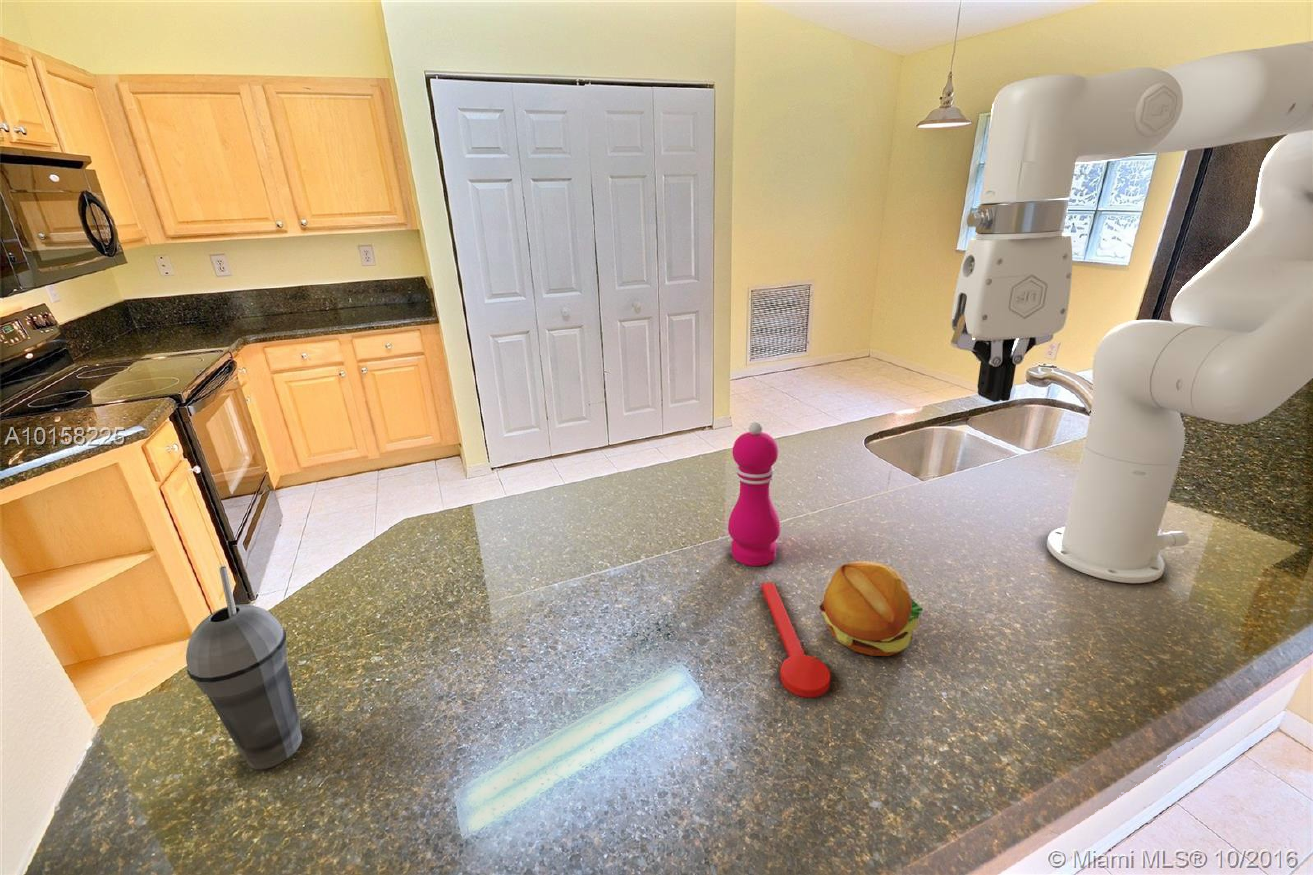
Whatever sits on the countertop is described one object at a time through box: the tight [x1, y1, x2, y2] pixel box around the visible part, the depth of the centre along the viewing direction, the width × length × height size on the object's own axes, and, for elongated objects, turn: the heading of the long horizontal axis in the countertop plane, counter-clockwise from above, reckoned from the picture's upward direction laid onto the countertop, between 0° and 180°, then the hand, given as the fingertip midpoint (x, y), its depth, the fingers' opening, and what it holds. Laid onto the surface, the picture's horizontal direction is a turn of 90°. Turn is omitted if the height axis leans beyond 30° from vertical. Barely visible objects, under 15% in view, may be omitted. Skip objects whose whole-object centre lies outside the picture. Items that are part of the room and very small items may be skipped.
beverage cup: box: [185, 565, 303, 770], centre depth 51 cm, size 7×7×20 cm
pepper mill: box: [727, 421, 781, 567], centre depth 79 cm, size 7×7×20 cm
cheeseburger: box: [818, 560, 924, 657], centre depth 64 cm, size 10×11×10 cm
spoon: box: [760, 582, 831, 699], centre depth 66 cm, size 5×18×1 cm, turn 4°
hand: (993, 397), depth 64 cm, fingers closed
